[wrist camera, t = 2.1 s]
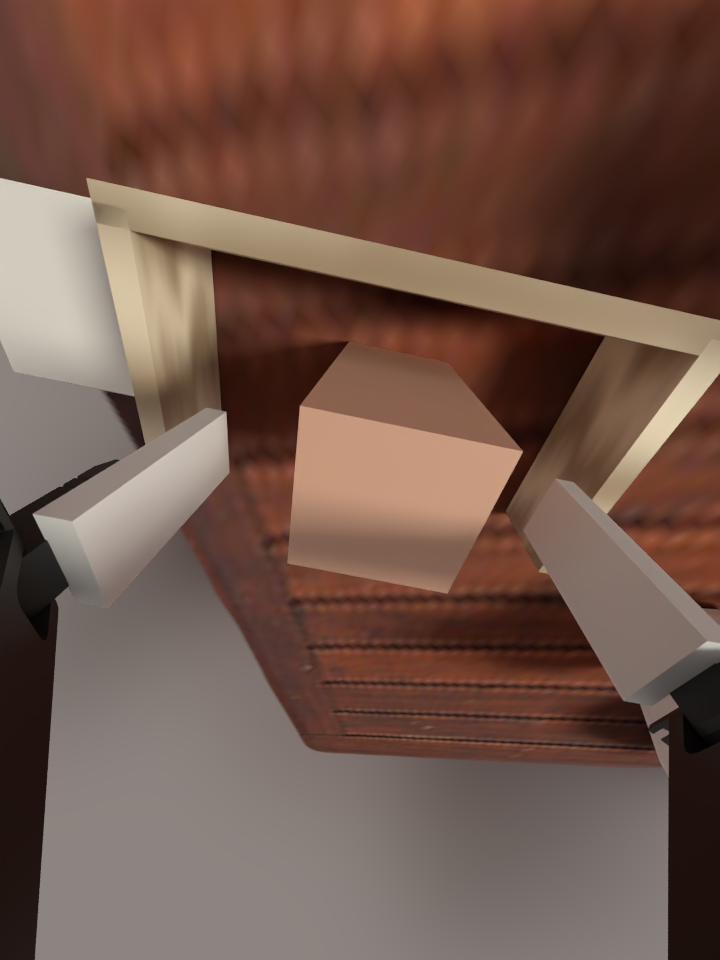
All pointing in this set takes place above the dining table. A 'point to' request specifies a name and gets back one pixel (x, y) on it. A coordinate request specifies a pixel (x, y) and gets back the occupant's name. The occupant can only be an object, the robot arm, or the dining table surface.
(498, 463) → the terracotta block
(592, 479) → the frame
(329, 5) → the dining table surface
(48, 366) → the white tile
